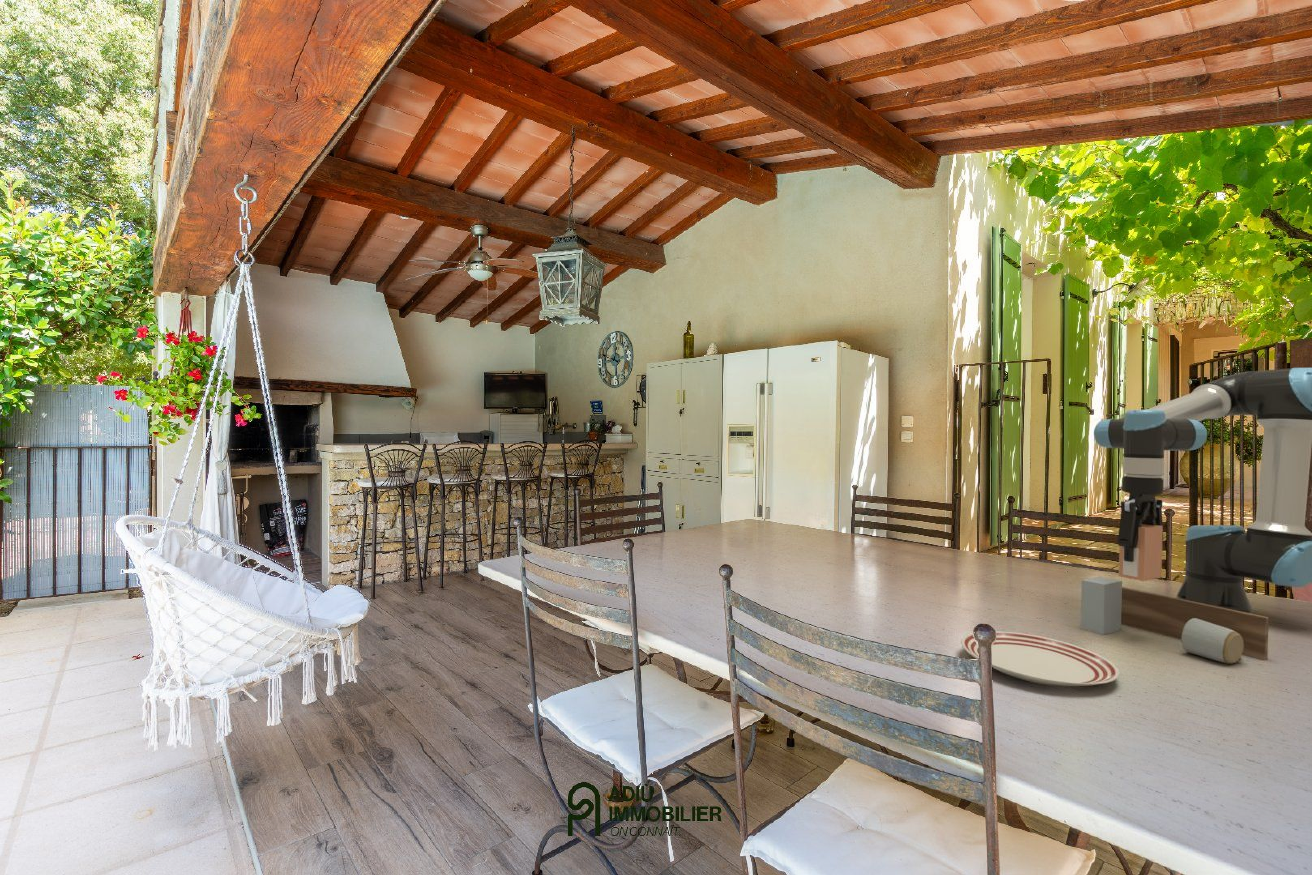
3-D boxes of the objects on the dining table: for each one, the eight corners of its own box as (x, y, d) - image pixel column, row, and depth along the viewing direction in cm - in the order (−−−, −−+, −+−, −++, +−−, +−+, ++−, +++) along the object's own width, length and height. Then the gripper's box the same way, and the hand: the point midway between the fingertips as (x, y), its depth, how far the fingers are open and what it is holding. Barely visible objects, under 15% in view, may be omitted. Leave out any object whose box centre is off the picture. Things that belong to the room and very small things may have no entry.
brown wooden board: (1101, 617, 160) (1102, 582, 160) (1267, 658, 131) (1268, 617, 131) (1098, 617, 159) (1099, 583, 159) (1264, 659, 131) (1265, 618, 131)
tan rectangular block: (1136, 572, 147) (1137, 522, 147) (1161, 577, 143) (1162, 525, 142) (1118, 576, 143) (1120, 525, 143) (1143, 581, 139) (1145, 528, 139)
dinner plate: (1091, 653, 134) (1091, 638, 134) (1143, 708, 108) (1144, 689, 108) (953, 638, 143) (953, 624, 143) (971, 685, 118) (971, 667, 117)
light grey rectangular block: (1098, 623, 154) (1099, 576, 154) (1120, 629, 150) (1122, 580, 150) (1080, 628, 151) (1081, 579, 150) (1103, 634, 146) (1104, 584, 146)
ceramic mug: (1226, 668, 126) (1227, 630, 126) (1179, 654, 134) (1180, 619, 134) (1253, 661, 130) (1255, 625, 130) (1207, 648, 138) (1208, 614, 138)
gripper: (1146, 473, 151) (1144, 565, 151) (1100, 476, 141) (1097, 574, 141) (1184, 476, 144) (1181, 572, 144) (1138, 478, 134) (1135, 582, 135)
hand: (1140, 573), depth 143 cm, fingers closed on tan rectangular block, 8 cm apart
